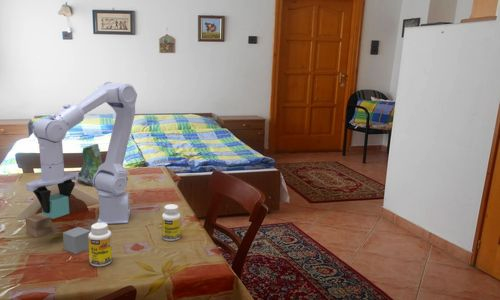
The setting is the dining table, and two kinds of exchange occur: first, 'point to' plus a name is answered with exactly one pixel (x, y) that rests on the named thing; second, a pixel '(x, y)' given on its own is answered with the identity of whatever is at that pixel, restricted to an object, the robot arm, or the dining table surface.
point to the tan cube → (38, 225)
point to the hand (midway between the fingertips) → (55, 209)
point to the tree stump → (90, 164)
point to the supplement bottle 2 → (171, 223)
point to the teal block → (57, 206)
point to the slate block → (76, 240)
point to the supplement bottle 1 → (100, 245)
